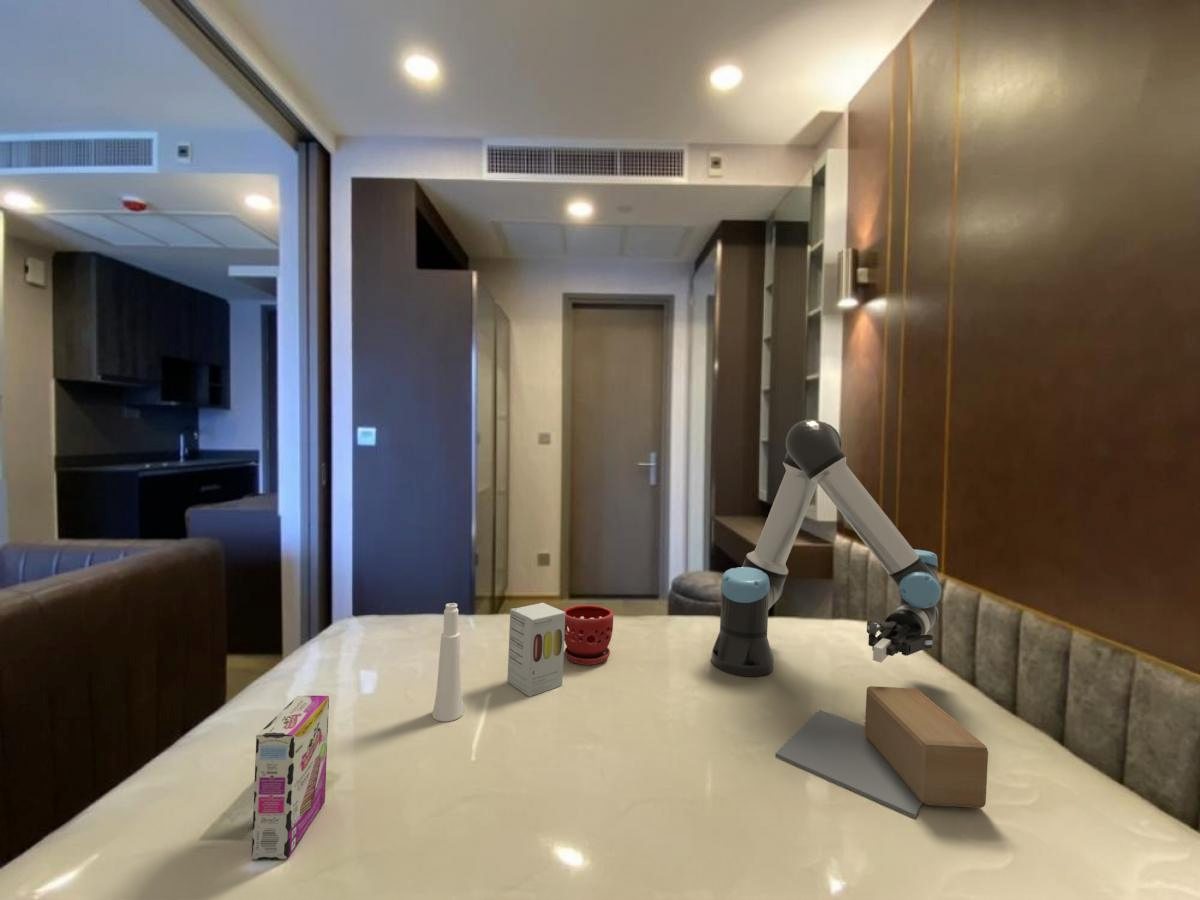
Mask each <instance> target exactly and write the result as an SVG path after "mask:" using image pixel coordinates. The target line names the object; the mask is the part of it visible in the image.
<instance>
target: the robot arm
mask: <svg viewBox="0 0 1200 900" xmlns="http://www.w3.org/2000/svg"><path fill="white" fill-rule="evenodd" d="M785 449H786V454H785V456H784V460H783V461H782V465H783V466H784V468H785V473H784V475H783V478H782V480H781V483H780V485H779V487H778V490H777V493H776V496H775V498H774V499H773V503H772V506H771V508H770V511H769V513H768V517H767V518H766V521H765V523H764V526H763V529H762V530H761V532H760V533H761V534H760V536H759V539H758V541H757V544H756V546H755V549H754V550H752V551H751V552H748V553H746V555H745V558H744V561H743V564H742V566H741V567H739V566H738V567H732V568H729V569H727V570H725V571H724V572H723V574H722V578H721V582H720V613H719V615H720V616H719V618H720V619H719V621H720V623H719V632H718V634H717V637H716V639H715V642H714V645H713V648H712V652H711V662H712V664H713V666H715V667H716V668H718V669H719V670H722V671H723V672H727V673H729V674H731V675H737V676H743V677H763V676H766V674H767V675H769V674H770V672H771V673H772V672H773V671H772V670H774V656H773V653H772V649H771V645H770V642H769V639H768V625H769V623H768V622H769V610H770V609H771V608H772V607H773V605H774V604H776V603H777V601H779V600H780V598H781V597H782V594H783V591H784V585H785V582H786V579H787V576H788V575H789V569H788V567H787V565H786V563H787V561H788V558H789V555H790V554H791V551H792V548H793V546H794V543H795V540H797V539H796V538H797V536H798V534H799V531H800V528H801V526H802V524H803V521H804V519H805V517H806V514H807V511H808V509H809V507H810V505H811V501H812V500H813V497H814V494H815V492H816V490H817V487H818V485H819V486H820V488H821V489H822V491H823V492H824V493H825V494H826V495H827V497H828V499H830V501H831V502H832V503H833V504H834V506H835V507H836V509H838V511H839V512H840V513H841V515H842V516H843V517H844V519H845V520H846V521H847V523H848V524H849V525H850V526H851V528H852V529H853V530H854V532H855V533H856V535H857V536H858V537H859V538H860V540H862V542H863V543H864V545H865V546H866V547H867V548H868V550H869V551H870V552H871V554H872V555H873V557H875V559H876V560H877V561H878V564H880V565H881V567H882V568H883V569H884V570H885V572H886V574H888V576H889V578H890V579H891V580H892V582H893V583H894V584H895V586H896V587H897V588H898V590H899V597H898V599H899V600H898V603H899V604H898V608H896V609H895V610H893V611H892V612H891V613H890V614H889V615H888V616H887V617H886V618H885V620H884V621H882V622H879V624H878V623H876V622H874V621H873V620H867V621H866V633H867V634H868V646H869V647H872V648H871V649H872V661H874V662H878V663H883V662H884V660H886V658H888V657H893V656H894V655H897V654H899V653H901V655H903V656H905V657H906V656H911V655H913V654H915V653H917V652H920V651H923V650H925V649H926V650H927V649H933V638H934V636H933V635H932V634H928V632H929V631H930V630H932V629H933V628H934V627H935V626H936V624H937V622H938V620H939V619H938V618H939V610H938V608H937V603H938V602H939V600H940V599H941V595H942V585H941V583H940V581H939V577H938V568H939V564H938V556H937V555H938V554H936V553H935V552H932V551H929V550H923V549H922V550H921V549H916V548H915V549H913V547H912V545H910V543H909V542H908V541H907V540H906V538H905V537H904V536H903V535H902V533H901V532H900V531H899V529H898V528H897V527H896V525H895V524H894V523H893V521H892V520H891V518H889V517H888V515H886V513H885V512H884V511H883V510H882V509H883V508H881V506H880V505H879V504H878V503H877V501H875V499H874V497H872V495H871V494H870V493H869V492H868V490H867V489H866V488H865V486H864V485H863V484H862V483H861V481H860V480H859V479H858V478H857V476H856V475H855V474H854V473H853V471H852V470H851V469H850V468H849V466H848V465H847V456H846V455H845V454H844V453H843V452H842V438H841V435H840V434H839V432H838V430H837V429H836V428H835V427H834V426H832V425H831V424H829V423H827V422H824V421H820V420H818V419H817V420H816V419H804V420H802V421H799V422H797V423H795V424H794V425H792V426H791V428H790V429H789V430H788V432H787V435H786V438H785ZM878 632H879V633H880V634H878ZM877 634H878V635H877Z"/></svg>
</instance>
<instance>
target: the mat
mask: <svg viewBox="0 0 1200 900" xmlns="http://www.w3.org/2000/svg"><path fill="white" fill-rule="evenodd" d="M774 754H775V755H774V756H775V757H776V758H778V759H780V760H782V761H785V762H787V763H789V764H791V765H794V766H796V767H799V769H802V770H805V771H806V772H809V773H811V774H814V775H816V776H819V777H821V778H823V779H825V780H828V781H830V782H832V783H835V784H837V785H839V786H841V787H843V788H845V789H847V790H850V791H852V792H854V793H857V794H859V795H862V796H863V797H866V798H869V799H870V800H873V801H874V802H876V803H879V804H882V805H884V806H886V807H888V808H891V809H893V810H895V811H898V812H899V813H902V814H904V815H906V816H908V817H910V818H914V819H917V816H918V814H919V812H920V810H921V808H922V805H923V803H922V802H921V801H920V800H919V799H918V798H917V796H916V795H915V794H914V793H913V792H912V791H911V789H910V788H909V787H908V786H907V785H906V783H905V782H904V781H903V780H902V779H901V777H900V776H899V775H898V774H897V773H896V771H895V770H894V769H893V768H892V767H891V766H890V764H889V763H888V762H887V761H886V760H885V758H884V757H883V756H882V755H881V754H880V752H879V751H878V750H877V749H876V748H875V746H874V745H873V744H872V743H871V742H870V741H869V739H868V738H867V737H866V734H865V724H861V723H858V722H855V721H852V720H850V719H847V718H844V717H842V716H839V715H837V714H834V713H831V712H827V711H825V710H822V709H818V711H817V712H815V713H814V715H812V716H811V717H810V718H809V719H808V720H807V721H806V722H805V723H804V724H803V726H800V728H799V729H798V730H797V731H796V732H795V733H794V734H793V735H792V736H791V737H790V738H789V739H788V740H787V741H786V742H785V743H784V744H783V745H782V746H781V747H780V748H779V749H778V750H777V751H776V752H775V753H774Z"/></svg>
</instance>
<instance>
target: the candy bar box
mask: <svg viewBox="0 0 1200 900" xmlns="http://www.w3.org/2000/svg"><path fill="white" fill-rule="evenodd" d="M329 707H330V696H329V695H296V697H294V699H292V701H291V702H289V703H288V704H287V706H285V708H283V709H282V710H281V711H280V712H279V713H278V714H277V715H276V716H275V717H274V718H273V719H272V720H271V721H270V722H269V723H268V724H266V725H265V726H264V727H263V729H261V730H260V731H259V732H258V733H257V734H256V736H255V740H256V742H255V761H254V763H255V765H254V780H253V781H254V783H253V784H254V785H253V786H254V787H253V790H254V791H253V814H252V816H253V817H252V834H251V835H252V836H251V838H252V839H251V856H250V857H251V858H250V860H251V861H286V860H287V861H288V860H289V859H290V858H291V856H292V854H293V853H294V851H295V850H296V849H297V846H298V845H299V844H300V842H301V840H302V839H303V837H304V835H305V834H306V832H307V831H308V829H309V827H310V826H311V825H312V823H313V821H314V820H315V818H317V815H318V814H319V811H321V809H322V807H323V806H324V804H325V803H326V783H327V782H326V781H327V757H328V753H327V752H328V734H329V713H330V712H329V709H330V708H329Z"/></svg>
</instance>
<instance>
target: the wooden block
mask: <svg viewBox="0 0 1200 900" xmlns="http://www.w3.org/2000/svg"><path fill="white" fill-rule="evenodd" d="M864 720H865V722H864V726H865V734H866V737H867V738H868V739H869V741H870V742H871V743H872V744H873V745H874V746H875V748H876V749H877V750H878V751H879V752H880V754H881V755H882V756H883V757H884V758H885V760H886V761H887V762H888V763H889V764H890V766H891V767H892V768H893V769H894V770H895V771H896V773H897V774H898V775H899V776H900V777H901V779H902V780H903V781H904V782H905V783H906V785H907V786H908V787H909V788H910V789H911V791H912V792H913V793H914V794H915V795H916V796H917V798H918V799H919V800H920V801H921V802H922V804H925V805H926V806H927V805H928V806H940V807H941V806H943V807H944V806H945V807H957V808H958V807H960V808H961V807H962V808H976V809H979V808H980V809H981V808H984V807H985V806H986V804H987V784H988V783H987V782H988V765H989V764H988V763H989V762H988V761H989V750H988V747H987V746H986V745H985V744H984V743H983V742H982V741H980V739H978V738H977V737H976V735H974V734H972V733H971V732H970V731H969V730H968V729H966V728H965V727H964V726H963V725H961V724H960V723H959V722H958V721H957V720H955V719H954V717H952V716H951V715H949V714H948V713H947V712H946V711H944V710H943V709H942V708H941V707H940V706H938V705H937V704H936V703H935V702H933V700H931V699H930V698H929V697H928V696H927V695H925V694H924V693H923V692H922V691H921V690H919V689H916V688H914V687H913V688H911V687H909V688H908V687H893V686H892V687H891V686H889V687H888V686H875V685H874V686H868V687H866V697H865V718H864Z"/></svg>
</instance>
